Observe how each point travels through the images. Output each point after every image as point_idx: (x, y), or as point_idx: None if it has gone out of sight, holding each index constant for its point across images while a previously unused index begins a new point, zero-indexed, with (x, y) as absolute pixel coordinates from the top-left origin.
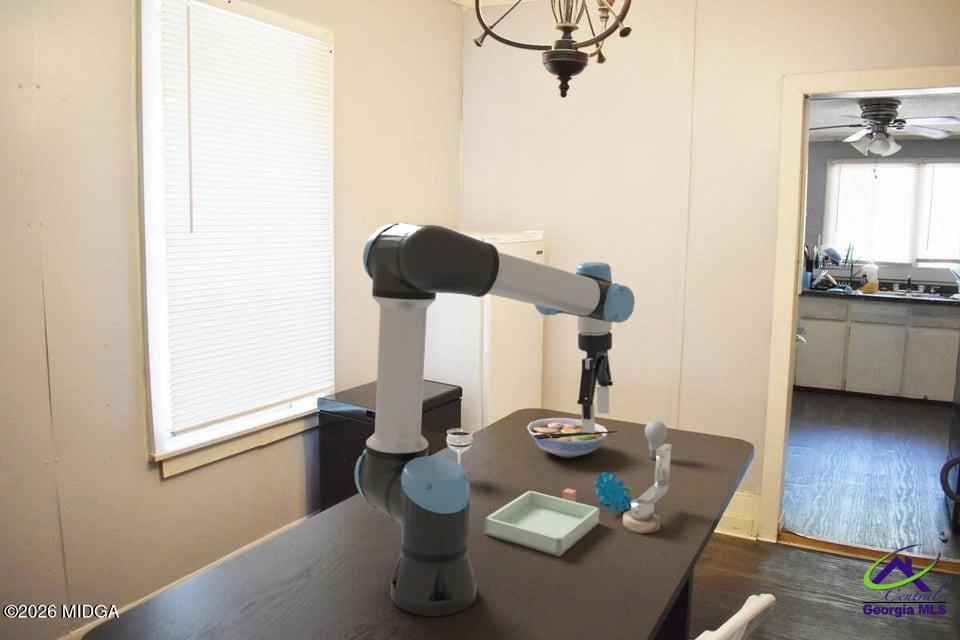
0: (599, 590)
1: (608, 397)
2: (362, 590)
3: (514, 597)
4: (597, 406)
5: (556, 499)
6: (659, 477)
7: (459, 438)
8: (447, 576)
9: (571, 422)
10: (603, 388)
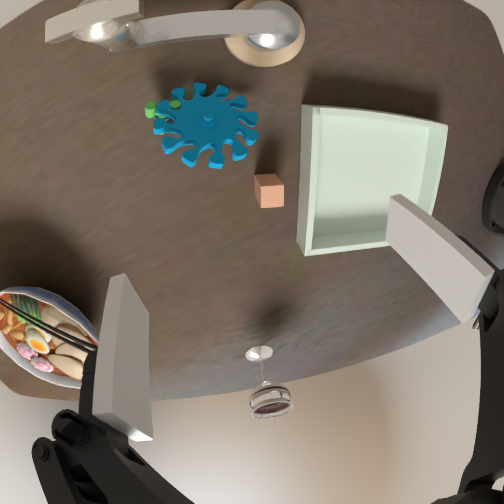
0: (466, 57)
1: (112, 347)
2: (498, 240)
3: (496, 135)
4: (148, 338)
5: (315, 198)
6: (139, 28)
7: (287, 399)
8: None
9: (15, 354)
10: (132, 417)
